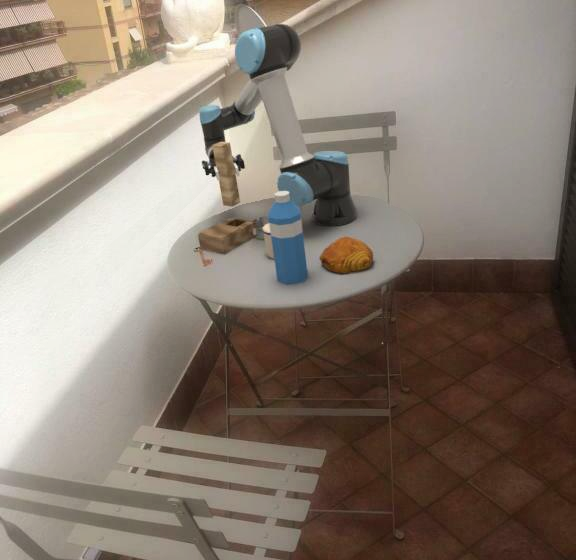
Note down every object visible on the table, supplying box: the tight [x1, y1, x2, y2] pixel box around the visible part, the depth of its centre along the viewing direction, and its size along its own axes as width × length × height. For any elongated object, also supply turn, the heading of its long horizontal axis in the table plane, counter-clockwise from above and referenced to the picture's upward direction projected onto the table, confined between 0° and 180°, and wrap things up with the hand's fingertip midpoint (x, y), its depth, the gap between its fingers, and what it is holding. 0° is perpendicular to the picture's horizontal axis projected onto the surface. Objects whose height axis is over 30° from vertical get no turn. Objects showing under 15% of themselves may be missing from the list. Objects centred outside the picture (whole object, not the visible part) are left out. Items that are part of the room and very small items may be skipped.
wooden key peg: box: [212, 141, 241, 208], centre depth 185 cm, size 4×4×20 cm
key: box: [193, 246, 213, 267], centre depth 184 cm, size 6×1×15 cm
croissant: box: [319, 236, 374, 275], centre depth 166 cm, size 14×16×8 cm
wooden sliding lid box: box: [197, 216, 257, 255], centre depth 190 cm, size 16×11×5 cm
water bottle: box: [267, 190, 309, 285], centre depth 158 cm, size 9×9×25 cm
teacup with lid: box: [262, 222, 274, 260], centre depth 177 cm, size 12×9×12 cm
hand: (227, 174), depth 180 cm, fingers closed on wooden key peg, 6 cm apart
